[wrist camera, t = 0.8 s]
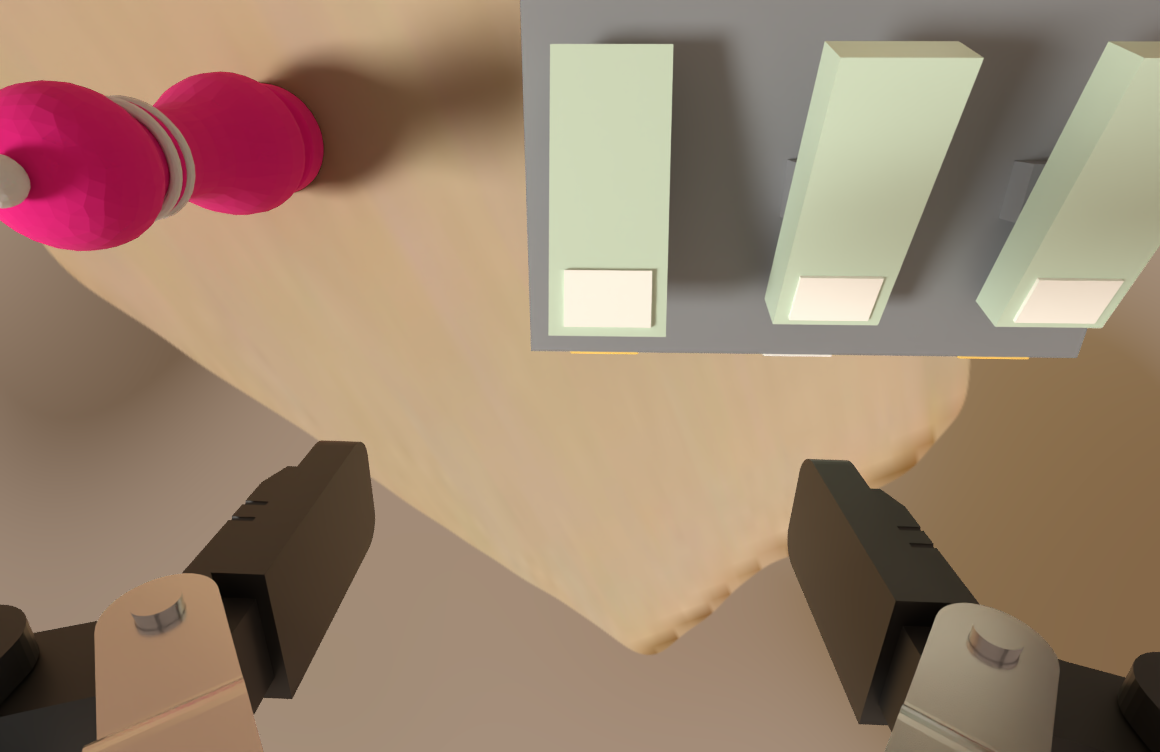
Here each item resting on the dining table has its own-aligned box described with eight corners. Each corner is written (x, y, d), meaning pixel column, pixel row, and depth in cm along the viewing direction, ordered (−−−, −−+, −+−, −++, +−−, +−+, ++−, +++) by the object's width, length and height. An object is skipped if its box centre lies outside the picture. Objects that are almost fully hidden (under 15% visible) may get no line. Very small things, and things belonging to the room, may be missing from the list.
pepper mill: (313, 66, 36) (21, 38, 18) (346, 194, 39) (125, 283, 21) (194, 82, 37) (-208, 70, 18) (236, 207, 40) (-75, 305, 21)
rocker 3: (1108, 41, 18) (1148, 59, 16) (1245, 41, 18) (1296, 59, 16) (975, 300, 24) (997, 329, 23) (1076, 302, 24) (1104, 330, 22)
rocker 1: (553, 63, 21) (549, 41, 19) (667, 64, 21) (674, 42, 19) (551, 333, 22) (548, 335, 20) (660, 334, 22) (666, 337, 20)
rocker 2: (824, 40, 18) (842, 59, 17) (958, 41, 18) (986, 59, 17) (764, 298, 24) (773, 326, 23) (864, 299, 24) (879, 327, 23)
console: (552, 27, 35) (515, -27, 19) (952, 27, 34) (1245, -28, 19) (555, 261, 40) (528, 367, 25) (900, 264, 40) (1094, 374, 24)
